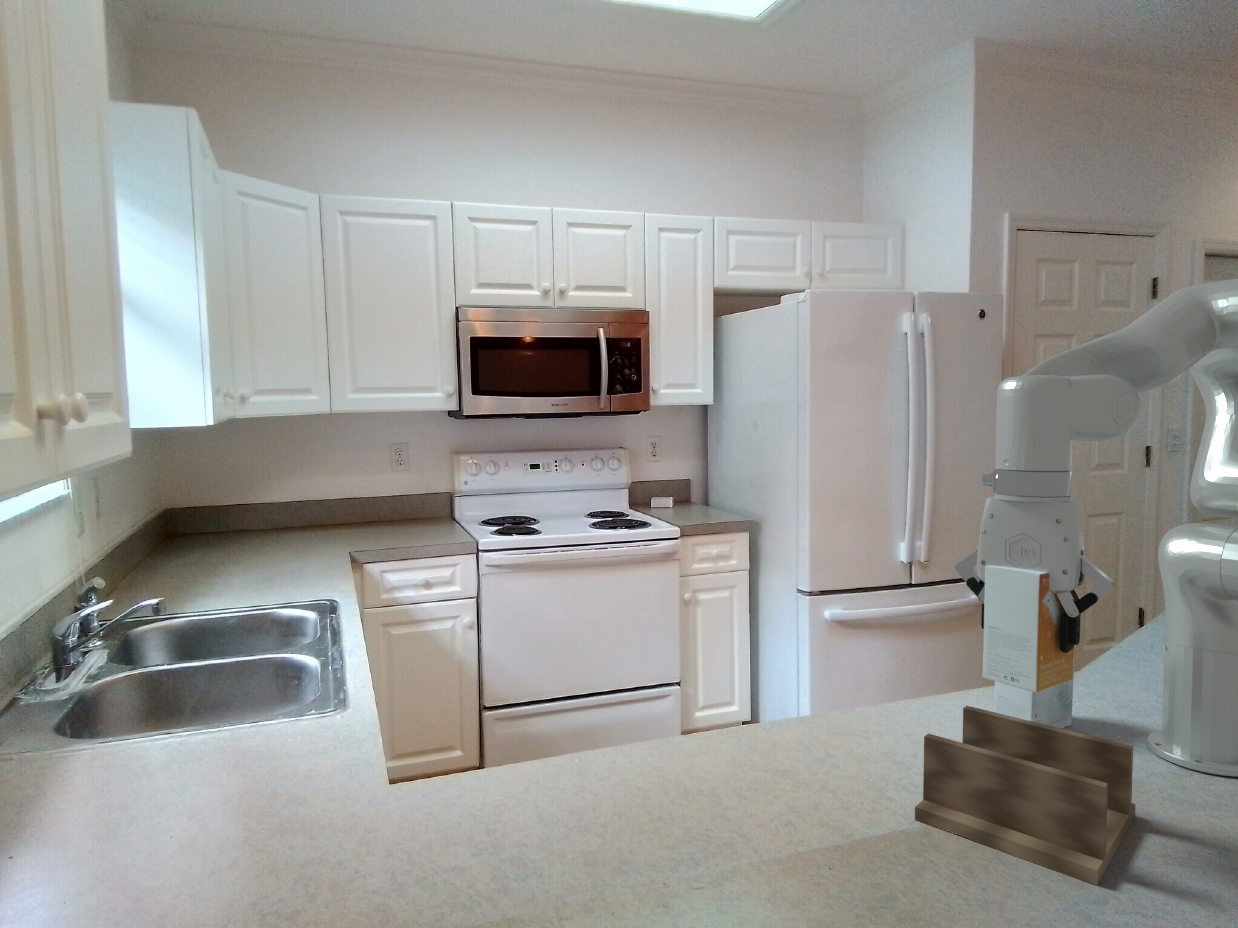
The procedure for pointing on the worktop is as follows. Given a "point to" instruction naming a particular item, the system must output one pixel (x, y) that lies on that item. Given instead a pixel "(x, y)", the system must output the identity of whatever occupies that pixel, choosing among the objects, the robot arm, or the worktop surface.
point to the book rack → (1031, 791)
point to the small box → (1023, 630)
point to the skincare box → (1036, 703)
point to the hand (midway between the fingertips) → (1028, 641)
